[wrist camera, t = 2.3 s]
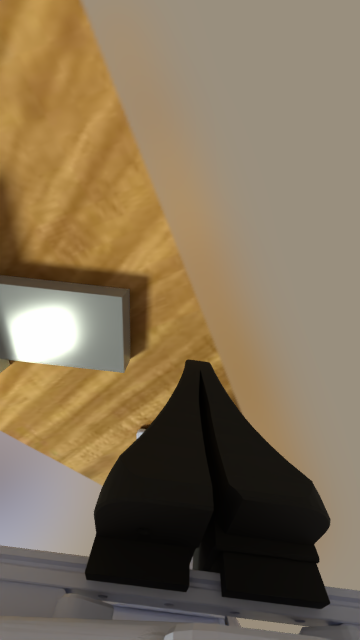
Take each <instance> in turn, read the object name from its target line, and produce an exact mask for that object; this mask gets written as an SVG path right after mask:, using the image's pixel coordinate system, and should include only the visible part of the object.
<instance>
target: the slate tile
mask: <svg viewBox="0 0 360 640" xmlns="http://www.w3.org/2000/svg"><path fill="white" fill-rule="evenodd" d="M0 359H6V360H15V361H24V362H33V363H42V364H51V365H60V366H69V367H78V368H87V369H96V370H104V371H113V372H122V373H124V372H125V370H126V367H127V365H128V363H129V361H130V359H131V357H130V289H124V288H115V287H106V286H97V285H87V284H78V283H69V282H60V281H51V280H41V279H32V278H23V277H14V276H5V275H0Z"/></svg>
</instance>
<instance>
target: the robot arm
mask: <svg viewBox="0 0 360 640" xmlns="http://www.w3.org/2000/svg"><path fill="white" fill-rule="evenodd" d="M94 519H95V527H96V537H95V540H94V543H93V546H92V550H91V553H90V556H89V557H87V556H79V555H71V554H63V553H55V552H48V551H40V550H31V549H23V548H16V547H8V546H0V640H360V591H357V590H349V589H340V588H334V587H325V586H324V584H323V581H322V578H321V575H320V573H319V570H318V567H317V564H316V563H318V562H319V556H318V554H317V551H316V548H315V546H314V544H315V542H317V541H318V540H319V539H320V538H321V537H322V536H323V535H324V534H325V532H326V531H327V530H328V528H329V526H330V518H329V515H328V513H327V511H326V509H325V506H324V504H323V502H322V500H321V498H320V495H319V494H318V492H317V490H316V488H315V486H314V484H313V483H312V481H311V480H310V479H308V478H307V477H306V476H305V475H304V474H303V473H301V472H300V471H299V470H298V469H297V468H295V467H294V466H293V465H292V464H290V463H289V462H288V461H287V460H286V459H285V458H284V457H282V456H281V455H280V454H279V453H278V452H277V451H276V450H275V449H274V448H273V447H272V446H271V445H270V444H269V443H268V442H266V440H265V439H264V438H263V437H262V436H261V435H260V434H259V433H258V432H257V431H256V430H255V429H254V428H253V427H252V426H251V425H250V423H249V422H248V421H247V420H246V419H245V417H244V416H243V415H242V414H241V412H240V411H239V410H238V408H237V407H236V406H235V404H234V403H233V401H232V400H231V399H230V397H229V396H228V394H227V392H226V391H225V389H224V388H223V386H222V384H221V383H220V381H219V379H218V377H217V376H216V374H215V372H214V370H213V368H212V366H211V364H210V363H209V362H202V361H195V360H186V362H185V368H184V371H183V374H182V376H181V379H180V381H179V383H178V385H177V387H176V389H175V390H174V392H173V394H172V396H171V397H170V399H169V401H168V402H167V404H166V405H165V406H164V408H163V409H162V411H161V412H160V413H159V415H158V416H157V417H156V419H155V420H154V421H153V422H152V423H151V425H150V426H149V427H148V428H147V429H139V430H138V432H137V440H136V441H135V442H134V443H133V444H132V445H131V446H130V447H129V448H128V449H126V450H125V451H124V452H123V453H122V454H121V455H120V456H119V458H118V460H117V461H116V463H115V464H114V466H113V468H112V469H111V471H110V473H109V475H108V477H107V479H106V481H105V483H104V485H103V487H102V489H101V492H100V495H99V498H98V501H97V504H96V507H95V510H94ZM236 617H237V618H245V619H253V620H262V621H270V622H277V623H286V624H294V625H302V626H309V627H302V629H301V631H300V633H299V634H291V633H283V632H275V631H266V630H259V629H251V628H243V627H241V626H240V624H239V622H238V620H237V619H236Z"/></svg>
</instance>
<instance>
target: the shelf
mask: <svg viewBox="0 0 360 640" xmlns="http://www.w3.org/2000/svg"><path fill="white" fill-rule="evenodd" d="M8 366H10V363H9V360H6V359H0V373H1V372H2V371H3V370H5V369H6V368H7V367H8Z"/></svg>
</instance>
